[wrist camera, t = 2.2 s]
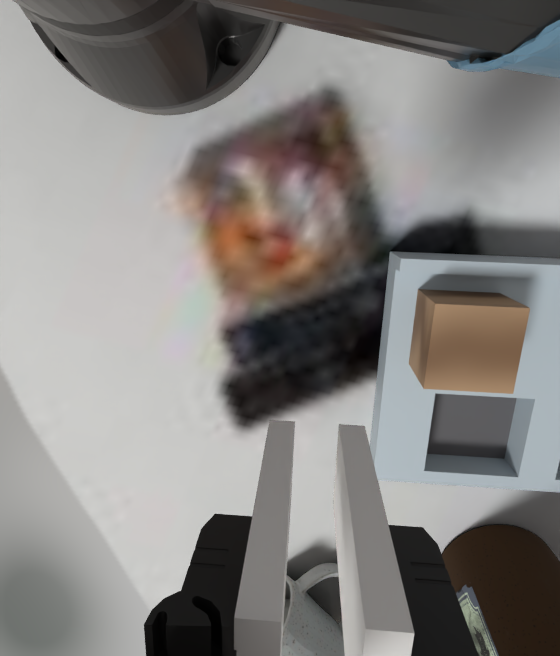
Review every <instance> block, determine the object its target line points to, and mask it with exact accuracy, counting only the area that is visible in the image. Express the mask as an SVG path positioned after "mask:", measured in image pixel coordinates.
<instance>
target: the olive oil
mask: <svg viewBox="0 0 560 656" xmlns="http://www.w3.org/2000/svg"><path fill="white" fill-rule="evenodd" d="M442 557H443V560H444V563H445V568H446V569H447V571H448V574H449V576H450V579H451V584H452V586H453V587H454V590H455V593H456V595H457V598H458V601H459V603H460V606H461V609H462V611H463V614H464V617H465V620H466V622H467V625H468V628H469V630H470V633H471V636H472V639H473V641H474V644H475V647H476V649H477V652H478V654H479V656H560V562H559V560H558V559H557V557H556V556H555V555H554V553H553V552H552V551H551V549H550V548H549V547H548V546H547V544H546V543H545V542H544V541H543V540H542V539H540V538H539V537H538V536H537V535H535V534H533V533H532V532H530V531H528V530H525V529H523V528H519V527H515V526H510V525H489V526H483V527H479V528H476V529H473V530H471V531H468V532H466V533H464V534H462V535H461V536H459V537H458V538H456V539H455V540H454V541H453V542H452V543H451V544H450V545H449V546H448V547H447V548H446V549H445V551H444V552H443V554H442Z"/></svg>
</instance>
